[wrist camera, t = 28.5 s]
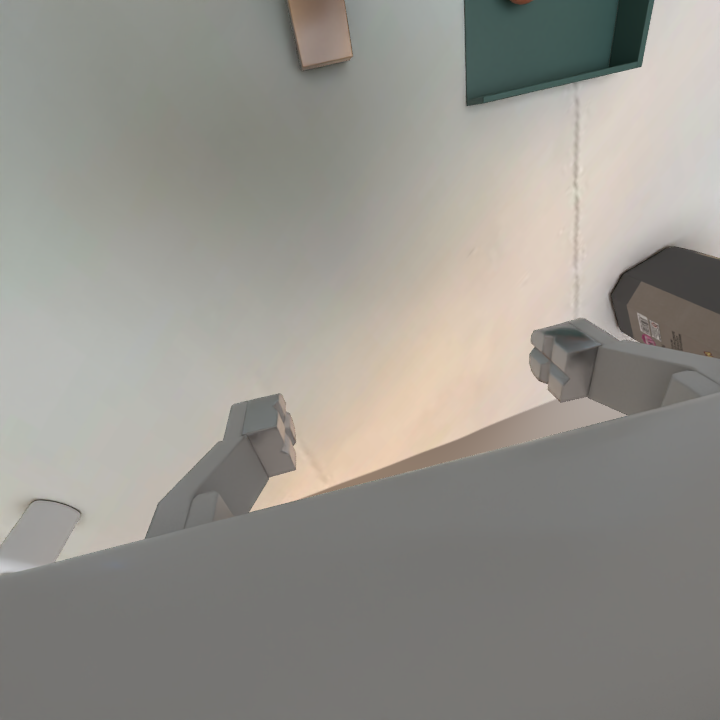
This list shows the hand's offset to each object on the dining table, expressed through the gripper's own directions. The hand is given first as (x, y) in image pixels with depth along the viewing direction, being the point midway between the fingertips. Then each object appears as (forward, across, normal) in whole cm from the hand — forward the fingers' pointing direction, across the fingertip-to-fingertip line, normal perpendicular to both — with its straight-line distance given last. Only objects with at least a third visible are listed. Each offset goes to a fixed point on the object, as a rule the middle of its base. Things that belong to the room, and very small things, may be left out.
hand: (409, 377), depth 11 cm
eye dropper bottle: (+25, +43, +26) cm, 57 cm away
